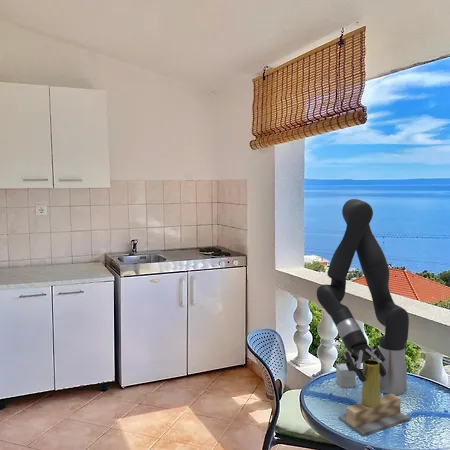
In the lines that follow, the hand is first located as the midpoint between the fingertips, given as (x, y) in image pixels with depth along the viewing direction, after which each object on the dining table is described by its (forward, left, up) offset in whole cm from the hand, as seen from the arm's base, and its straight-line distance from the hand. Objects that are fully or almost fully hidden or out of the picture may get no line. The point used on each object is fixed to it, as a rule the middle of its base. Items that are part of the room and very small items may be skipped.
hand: (374, 378), depth 155 cm
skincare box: (-10, -26, -16) cm, 32 cm away
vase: (0, -1, -9) cm, 10 cm away
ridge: (-1, -1, -15) cm, 15 cm away
